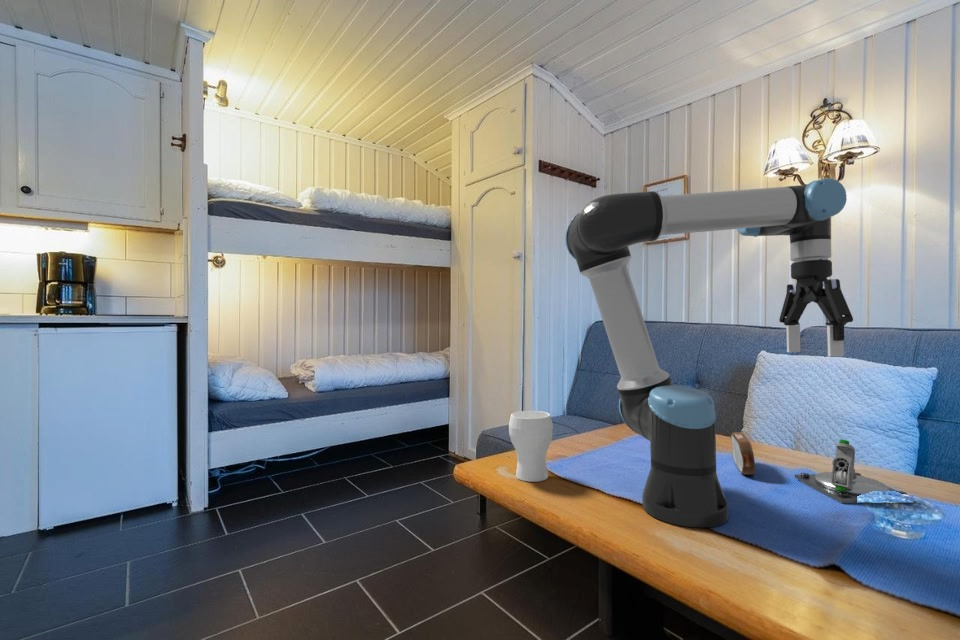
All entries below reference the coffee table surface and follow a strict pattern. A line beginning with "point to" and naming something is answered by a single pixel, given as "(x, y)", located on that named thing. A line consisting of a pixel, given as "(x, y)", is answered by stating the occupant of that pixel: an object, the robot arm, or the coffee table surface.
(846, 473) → the mechanical component
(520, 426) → the cup
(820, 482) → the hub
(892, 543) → the coffee table surface
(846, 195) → the robot arm
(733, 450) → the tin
